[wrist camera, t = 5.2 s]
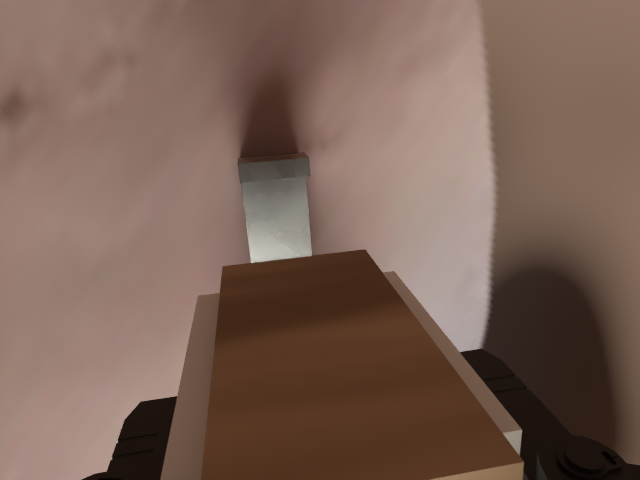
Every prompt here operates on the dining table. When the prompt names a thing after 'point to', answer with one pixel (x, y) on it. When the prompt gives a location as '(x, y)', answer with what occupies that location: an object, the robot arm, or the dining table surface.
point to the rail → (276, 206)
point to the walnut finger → (338, 383)
